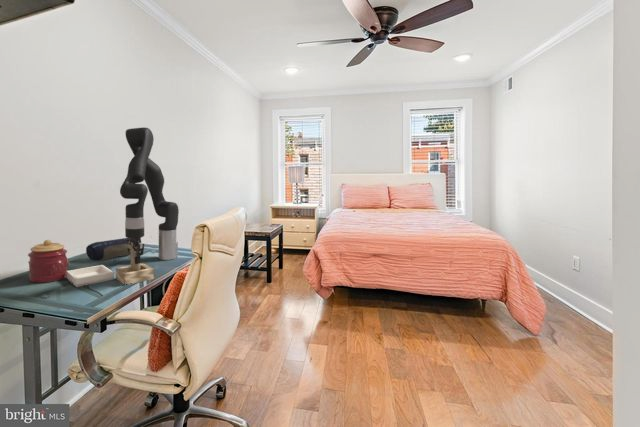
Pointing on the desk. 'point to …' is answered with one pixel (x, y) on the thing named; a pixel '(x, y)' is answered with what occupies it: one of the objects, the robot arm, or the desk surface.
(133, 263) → the handle
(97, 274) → the tray
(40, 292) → the desk surface
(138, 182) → the robot arm
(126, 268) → the socket block
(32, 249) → the canister
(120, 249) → the portable speaker
